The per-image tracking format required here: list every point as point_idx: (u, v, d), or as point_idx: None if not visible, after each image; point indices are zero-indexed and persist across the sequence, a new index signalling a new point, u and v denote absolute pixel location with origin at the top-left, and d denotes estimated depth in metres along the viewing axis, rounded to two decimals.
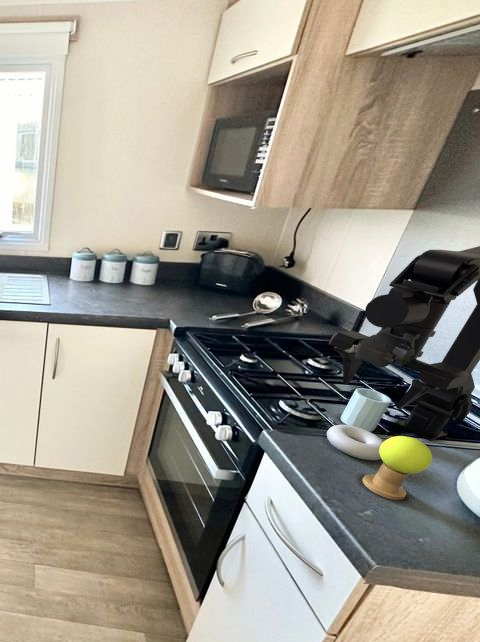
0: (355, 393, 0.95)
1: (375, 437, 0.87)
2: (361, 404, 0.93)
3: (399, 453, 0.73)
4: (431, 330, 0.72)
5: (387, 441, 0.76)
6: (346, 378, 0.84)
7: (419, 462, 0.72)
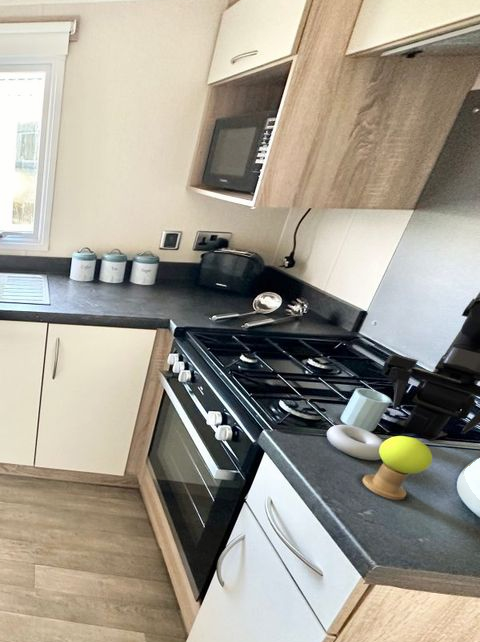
0: (355, 393, 0.95)
1: (375, 437, 0.87)
2: (361, 404, 0.93)
3: (399, 453, 0.73)
4: None
5: (387, 441, 0.76)
6: (399, 400, 0.80)
7: (419, 462, 0.72)
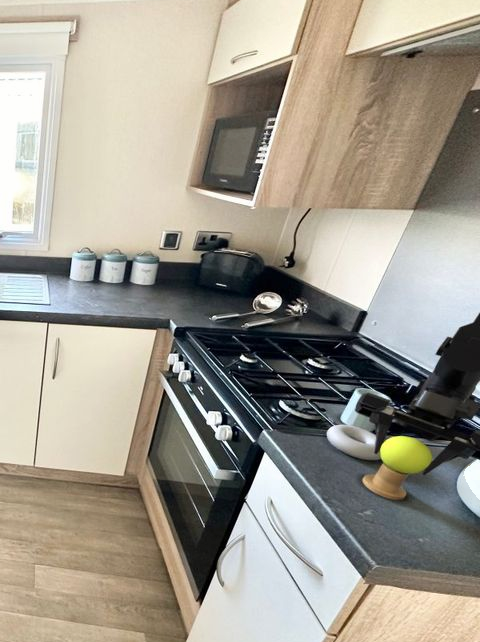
0: (355, 393, 0.95)
1: (375, 437, 0.87)
2: None
3: (399, 453, 0.73)
4: None
5: (387, 441, 0.76)
6: (380, 445, 0.76)
7: (419, 462, 0.72)
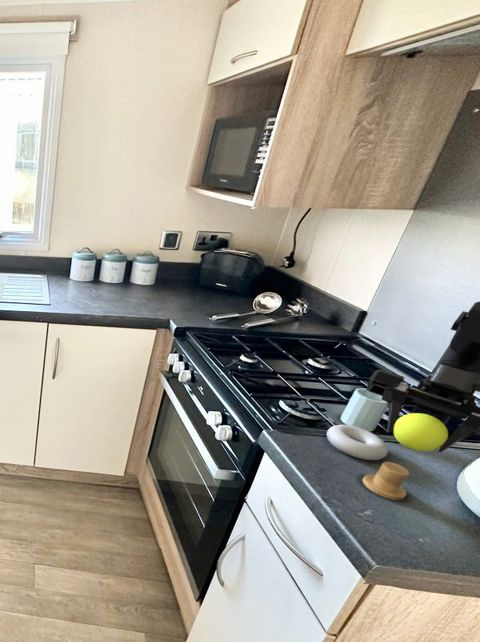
0: (355, 393, 0.95)
1: (375, 437, 0.87)
2: (361, 404, 0.93)
3: (414, 430, 0.71)
4: None
5: (401, 418, 0.73)
6: (394, 423, 0.74)
7: (434, 439, 0.69)
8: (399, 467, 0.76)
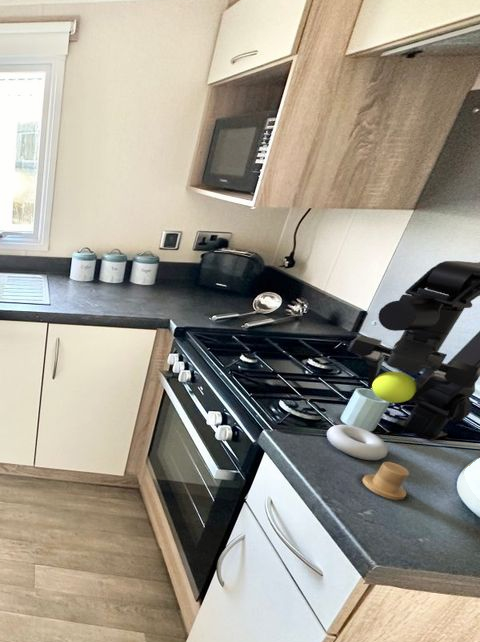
0: (355, 393, 0.95)
1: (375, 437, 0.87)
2: (361, 404, 0.93)
3: (383, 394, 0.86)
4: None
5: (375, 381, 0.88)
6: (372, 383, 0.89)
7: (401, 399, 0.85)
8: (399, 467, 0.76)
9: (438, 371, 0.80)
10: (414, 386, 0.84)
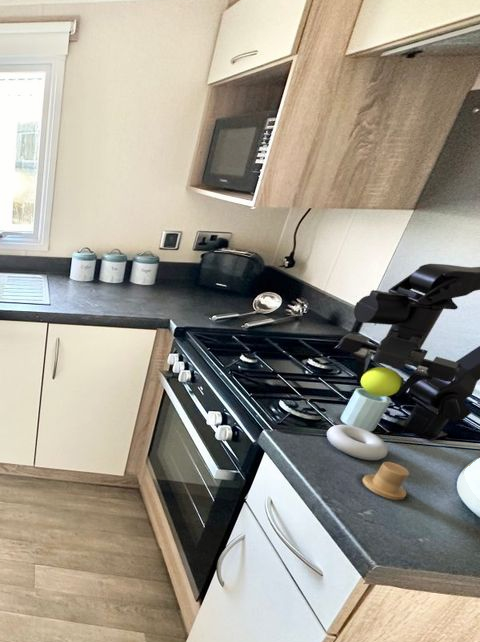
0: (355, 393, 0.95)
1: (375, 437, 0.87)
2: (361, 404, 0.93)
3: (371, 389, 0.92)
4: (429, 332, 0.84)
5: (363, 376, 0.93)
6: (360, 378, 0.94)
7: (387, 393, 0.90)
8: (399, 467, 0.76)
9: (421, 366, 0.86)
10: (399, 381, 0.89)
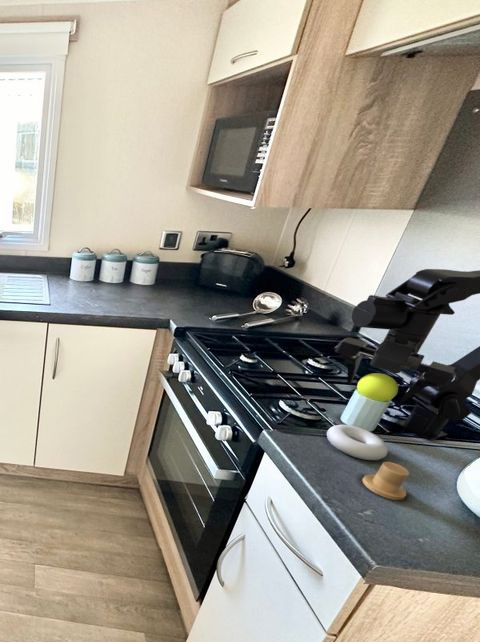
0: (355, 393, 0.95)
1: (375, 437, 0.87)
2: (361, 404, 0.93)
3: (367, 394, 0.92)
4: (426, 336, 0.85)
5: (360, 382, 0.94)
6: (350, 379, 0.96)
7: (383, 399, 0.91)
8: (399, 467, 0.76)
9: None
10: (395, 387, 0.90)
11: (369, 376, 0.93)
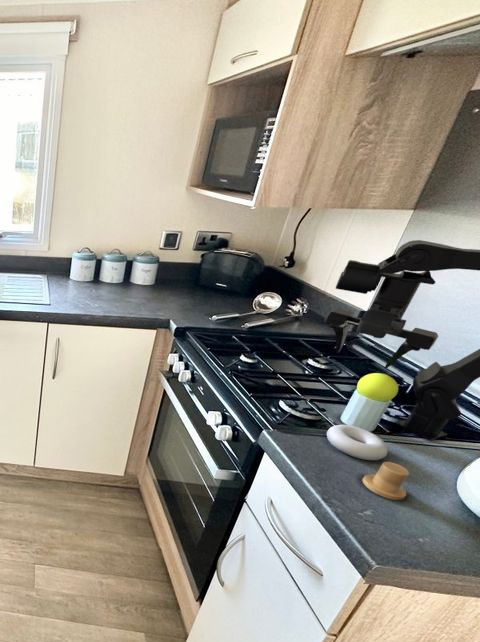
0: (355, 393, 0.95)
1: (375, 437, 0.87)
2: (361, 404, 0.93)
3: (367, 394, 0.92)
4: (409, 303, 0.90)
5: (360, 382, 0.94)
6: (339, 348, 1.01)
7: (383, 399, 0.91)
8: (399, 467, 0.76)
9: None
10: (395, 387, 0.90)
11: (369, 376, 0.93)
